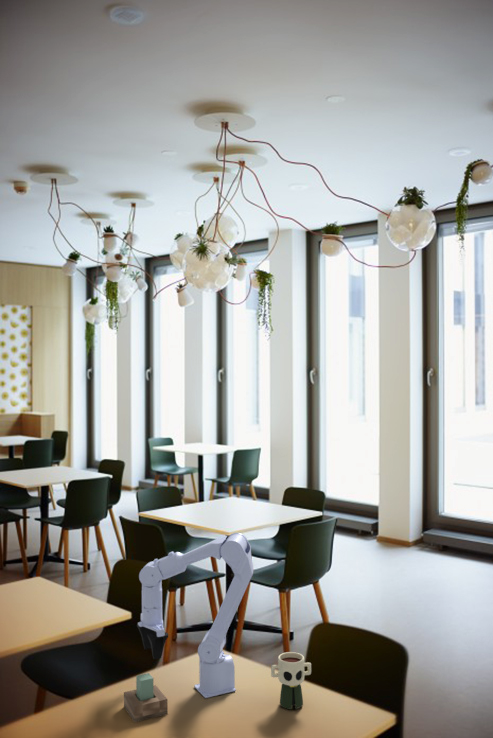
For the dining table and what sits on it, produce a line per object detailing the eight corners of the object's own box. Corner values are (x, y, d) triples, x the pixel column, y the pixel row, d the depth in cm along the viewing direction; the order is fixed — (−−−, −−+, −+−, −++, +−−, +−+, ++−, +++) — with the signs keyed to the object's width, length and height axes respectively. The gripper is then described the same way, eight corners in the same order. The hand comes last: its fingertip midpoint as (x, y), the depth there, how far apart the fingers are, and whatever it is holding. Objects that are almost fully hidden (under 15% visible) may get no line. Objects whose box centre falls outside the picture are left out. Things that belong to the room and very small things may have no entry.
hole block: (155, 699, 198) (155, 685, 198) (167, 714, 190) (167, 699, 190) (123, 707, 194) (123, 692, 194) (134, 722, 186) (134, 706, 186)
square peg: (149, 702, 194) (148, 673, 194) (153, 708, 191) (153, 678, 191) (136, 705, 193) (136, 675, 192) (140, 711, 190) (140, 681, 189)
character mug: (273, 713, 190) (273, 664, 190) (268, 700, 197) (268, 653, 197) (314, 710, 191) (314, 661, 191) (308, 697, 199) (308, 650, 198)
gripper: (130, 600, 210) (131, 646, 210) (147, 616, 197) (147, 665, 198) (153, 596, 213) (154, 642, 214) (171, 611, 200) (171, 660, 201)
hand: (152, 653), depth 206 cm, fingers open, 7 cm apart
